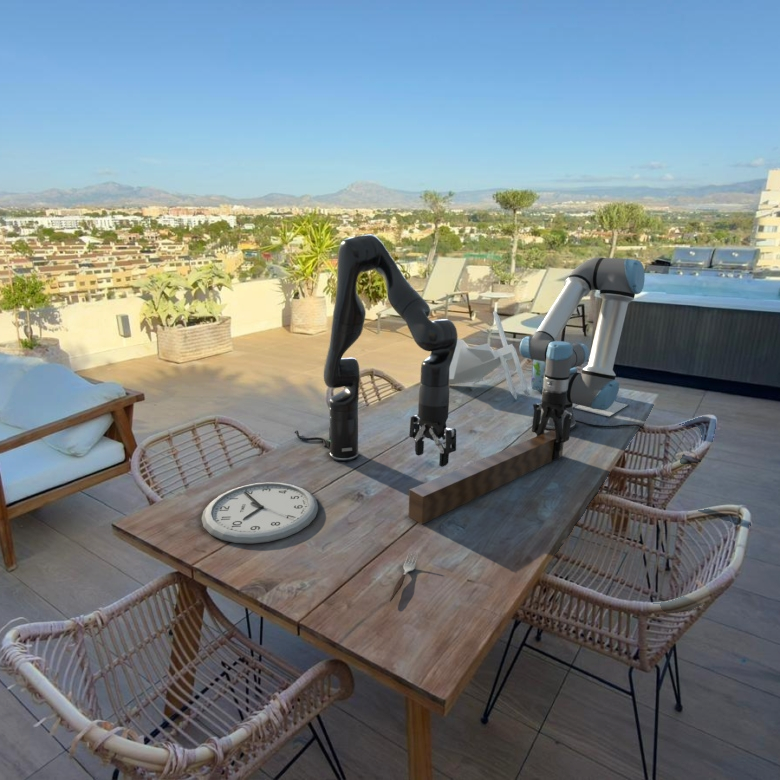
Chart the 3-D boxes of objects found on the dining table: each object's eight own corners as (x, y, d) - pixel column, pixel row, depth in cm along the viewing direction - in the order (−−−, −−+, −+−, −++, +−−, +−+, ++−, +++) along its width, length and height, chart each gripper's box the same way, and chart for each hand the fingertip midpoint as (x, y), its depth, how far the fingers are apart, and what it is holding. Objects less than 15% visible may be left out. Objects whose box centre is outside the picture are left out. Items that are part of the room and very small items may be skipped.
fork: (383, 601, 106) (384, 593, 106) (408, 557, 120) (408, 550, 120) (396, 605, 105) (396, 596, 105) (419, 560, 120) (419, 552, 119)
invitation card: (608, 416, 214) (573, 407, 224) (608, 416, 214) (573, 408, 224) (628, 404, 229) (594, 396, 238) (628, 405, 229) (594, 397, 238)
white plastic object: (461, 429, 252) (437, 405, 227) (444, 352, 274) (420, 323, 250) (535, 404, 240) (518, 377, 215) (510, 326, 262) (492, 293, 237)
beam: (549, 451, 180) (551, 430, 177) (562, 456, 176) (564, 434, 174) (408, 516, 138) (409, 489, 136) (421, 524, 134) (422, 496, 132)
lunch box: (547, 397, 237) (552, 352, 231) (526, 391, 245) (531, 348, 238) (574, 386, 255) (580, 344, 249) (554, 381, 262) (559, 340, 256)
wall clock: (315, 535, 126) (186, 539, 123) (315, 541, 126) (187, 545, 123) (320, 478, 154) (216, 480, 152) (320, 483, 155) (216, 485, 152)
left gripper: (403, 396, 132) (401, 454, 137) (444, 411, 122) (441, 473, 127) (424, 390, 137) (422, 447, 142) (465, 404, 127) (461, 465, 132)
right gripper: (524, 385, 172) (518, 450, 179) (574, 399, 159) (565, 468, 166) (537, 381, 177) (531, 445, 184) (587, 394, 164) (578, 462, 171)
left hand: (431, 459), depth 135 cm, fingers open, 8 cm apart
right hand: (547, 456), depth 175 cm, fingers closed on beam, 5 cm apart
